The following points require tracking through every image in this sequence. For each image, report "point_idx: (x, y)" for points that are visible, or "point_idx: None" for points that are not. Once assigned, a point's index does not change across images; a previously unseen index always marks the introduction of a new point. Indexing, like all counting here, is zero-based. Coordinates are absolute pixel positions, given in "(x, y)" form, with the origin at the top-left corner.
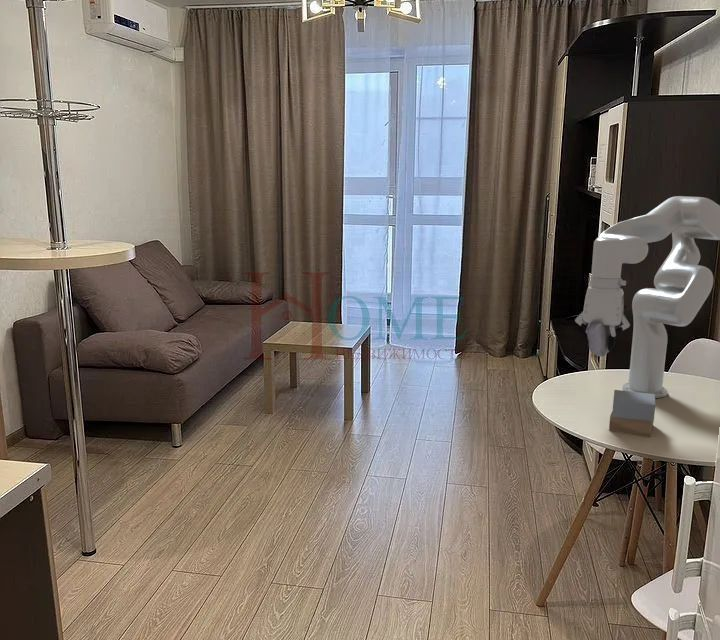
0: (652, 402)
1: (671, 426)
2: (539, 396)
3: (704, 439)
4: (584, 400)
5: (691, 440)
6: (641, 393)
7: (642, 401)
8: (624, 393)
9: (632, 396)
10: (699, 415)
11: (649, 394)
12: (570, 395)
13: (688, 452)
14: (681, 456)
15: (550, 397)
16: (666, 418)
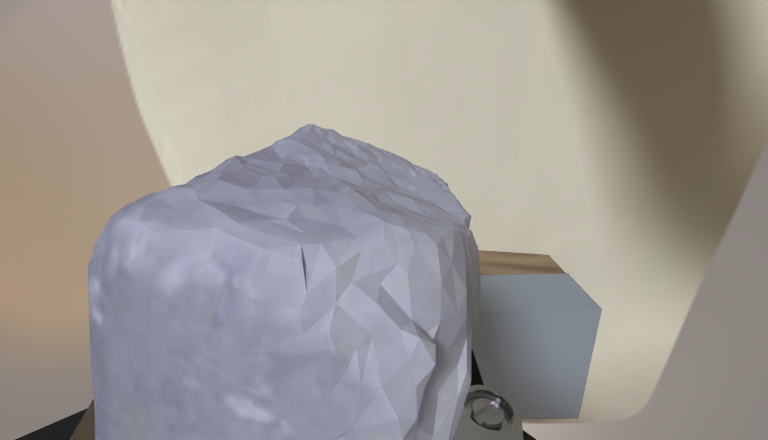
0: (573, 398)
1: (606, 237)
2: (141, 100)
3: (676, 304)
4: (315, 77)
5: (636, 323)
6: (547, 319)
7: (538, 400)
8: (478, 342)
9: (507, 363)
10: (744, 82)
11: (579, 319)
12: (249, 29)
13: (605, 395)
14: (582, 419)
15: (183, 95)
16: (607, 167)
